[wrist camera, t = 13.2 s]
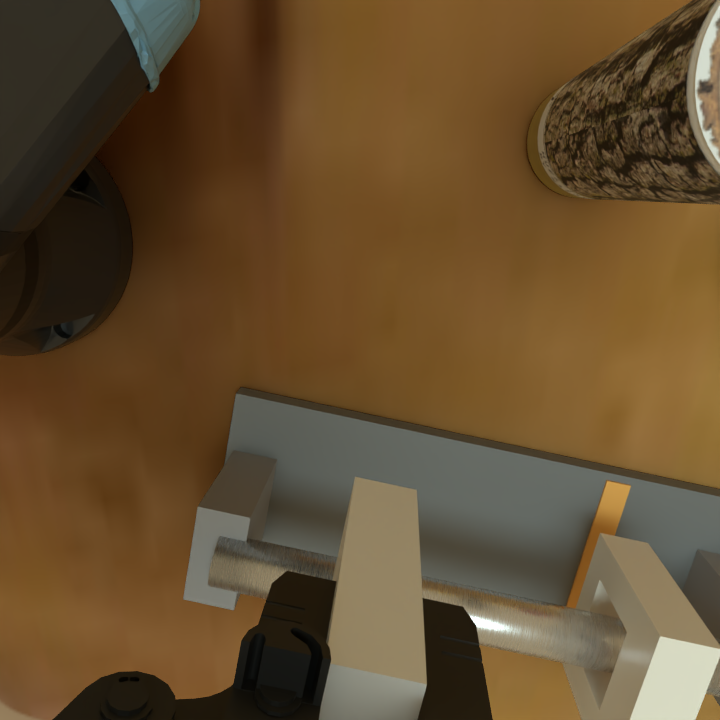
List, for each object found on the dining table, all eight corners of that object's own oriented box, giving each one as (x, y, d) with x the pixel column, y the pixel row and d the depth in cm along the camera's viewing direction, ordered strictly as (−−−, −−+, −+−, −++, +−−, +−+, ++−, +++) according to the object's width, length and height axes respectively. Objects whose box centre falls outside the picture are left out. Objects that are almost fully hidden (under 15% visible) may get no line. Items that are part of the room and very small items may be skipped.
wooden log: (640, 189, 42) (967, 187, 18) (529, 205, 43) (697, 225, 18) (634, 72, 40) (984, -104, 16) (519, 91, 41) (689, -52, 17)
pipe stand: (211, 565, 50) (166, 655, 40) (241, 387, 47) (199, 438, 37) (691, 669, 50) (761, 784, 40) (757, 497, 46) (851, 578, 37)
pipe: (219, 568, 41) (204, 600, 37) (227, 521, 40) (212, 549, 37) (746, 682, 40) (775, 723, 37) (765, 636, 40) (796, 674, 36)
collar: (560, 656, 44) (604, 787, 34) (600, 532, 42) (660, 636, 32) (605, 665, 44) (663, 800, 34) (647, 542, 42) (723, 649, 32)
